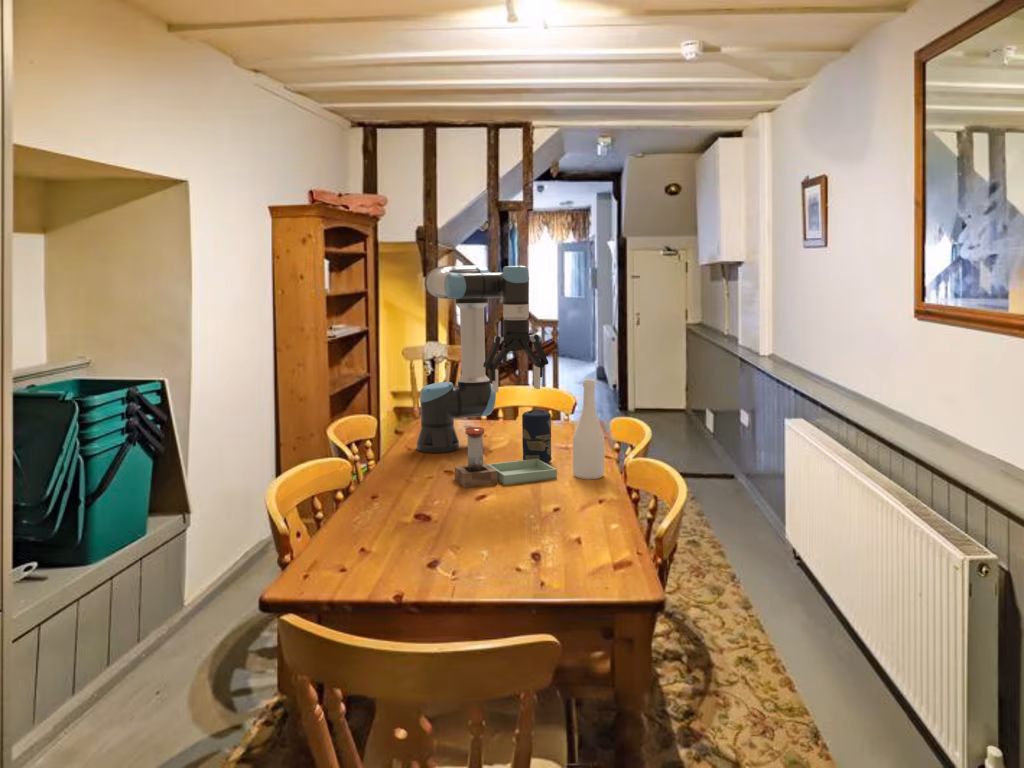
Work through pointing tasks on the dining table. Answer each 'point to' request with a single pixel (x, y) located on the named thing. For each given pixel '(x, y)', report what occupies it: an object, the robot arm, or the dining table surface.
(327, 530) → the dining table surface
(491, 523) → the dining table surface
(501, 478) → the tray
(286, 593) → the dining table surface
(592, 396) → the wine bottle
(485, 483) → the socket block
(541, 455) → the canister
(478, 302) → the robot arm
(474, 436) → the pin
